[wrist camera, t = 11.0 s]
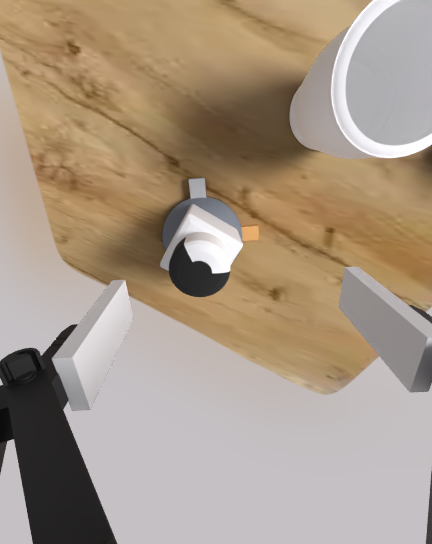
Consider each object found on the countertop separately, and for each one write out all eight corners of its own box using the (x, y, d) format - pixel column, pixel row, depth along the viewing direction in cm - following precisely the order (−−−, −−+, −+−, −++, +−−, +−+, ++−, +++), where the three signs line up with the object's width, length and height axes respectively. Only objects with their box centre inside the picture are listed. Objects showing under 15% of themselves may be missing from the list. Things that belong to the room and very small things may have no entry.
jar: (270, 150, 34) (312, 143, 20) (293, 50, 30) (366, -46, 16) (349, 166, 34) (442, 170, 21) (382, 71, 31) (524, -3, 17)
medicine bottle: (212, 271, 38) (212, 316, 27) (167, 247, 37) (149, 285, 26) (238, 229, 36) (250, 260, 25) (192, 202, 35) (183, 222, 24)
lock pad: (155, 181, 35) (153, 182, 34) (256, 173, 35) (258, 173, 33) (172, 288, 41) (170, 292, 40) (258, 281, 41) (260, 285, 39)
